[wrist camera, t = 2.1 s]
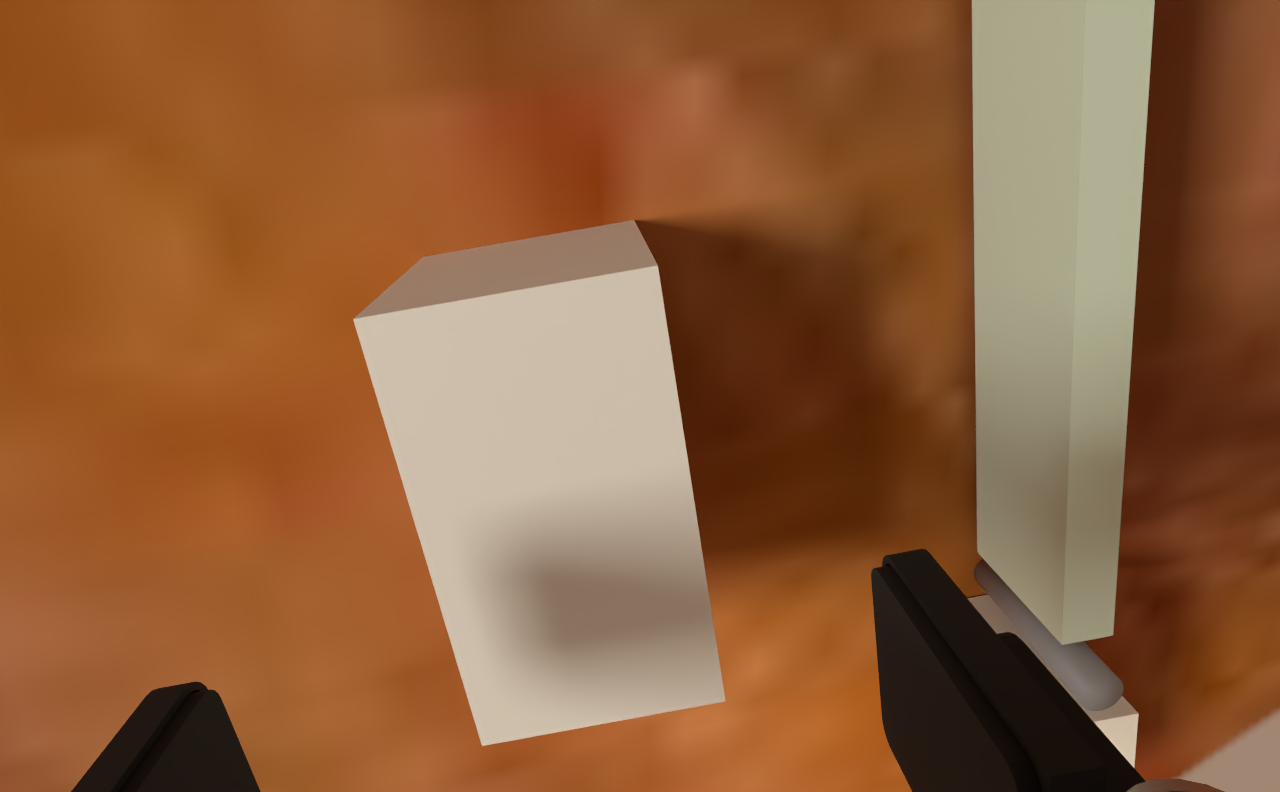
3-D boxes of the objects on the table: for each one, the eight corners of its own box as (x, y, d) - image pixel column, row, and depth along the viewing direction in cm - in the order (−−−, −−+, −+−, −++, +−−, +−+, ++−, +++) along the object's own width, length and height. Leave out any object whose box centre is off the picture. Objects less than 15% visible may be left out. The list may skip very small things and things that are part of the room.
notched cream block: (935, -763, 13) (1140, -1269, 8) (1040, -780, 13) (1305, -1293, 8) (963, 751, 24) (1054, 902, 20) (1019, 741, 24) (1123, 890, 20)
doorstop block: (423, 256, 18) (353, 319, 12) (634, 219, 18) (657, 265, 12) (508, 579, 21) (482, 745, 16) (686, 546, 21) (725, 701, 16)
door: (1038, 576, 22) (1160, 699, 18) (971, 589, 22) (1075, 715, 18) (1058, -301, 15) (1274, -490, 10) (959, -285, 15) (1130, -466, 10)
